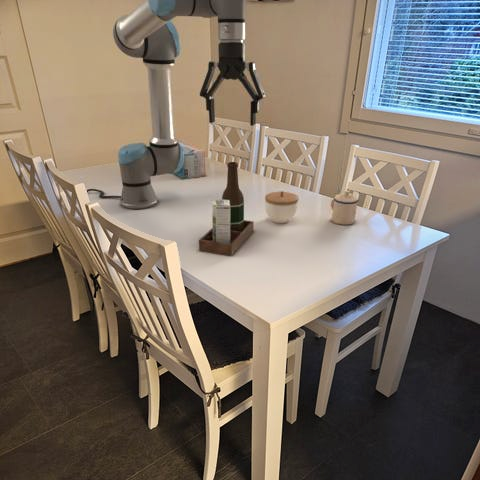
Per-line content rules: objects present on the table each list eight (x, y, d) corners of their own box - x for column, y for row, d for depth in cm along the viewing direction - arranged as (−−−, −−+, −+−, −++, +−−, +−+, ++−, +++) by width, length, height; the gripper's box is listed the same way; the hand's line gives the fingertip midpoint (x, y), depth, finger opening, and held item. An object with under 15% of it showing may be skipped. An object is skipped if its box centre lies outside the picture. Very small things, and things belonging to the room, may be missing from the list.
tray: (199, 250, 139) (198, 240, 137) (224, 227, 157) (223, 217, 155) (231, 255, 136) (231, 245, 134) (253, 231, 153) (253, 221, 151)
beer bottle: (241, 237, 146) (241, 166, 133) (220, 235, 147) (218, 165, 134) (245, 229, 152) (246, 160, 139) (225, 227, 154) (223, 159, 140)
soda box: (154, 162, 239) (151, 138, 232) (177, 159, 245) (175, 135, 237) (182, 179, 210) (180, 152, 202) (207, 176, 215) (206, 149, 208)
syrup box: (212, 241, 144) (211, 199, 136) (230, 240, 144) (229, 199, 136) (213, 248, 139) (211, 205, 131) (231, 247, 139) (230, 204, 131)
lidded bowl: (275, 228, 156) (276, 198, 150) (258, 217, 165) (259, 189, 159) (303, 222, 161) (305, 193, 155) (285, 212, 170) (287, 184, 164)
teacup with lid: (360, 222, 161) (365, 192, 154) (342, 227, 157) (346, 196, 150) (338, 213, 169) (342, 184, 163) (321, 217, 166) (324, 187, 159)
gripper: (185, 41, 119) (190, 123, 131) (270, 41, 112) (267, 128, 124) (196, 41, 125) (200, 119, 136) (277, 41, 118) (274, 124, 129)
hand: (232, 123), depth 130 cm, fingers open, 13 cm apart
